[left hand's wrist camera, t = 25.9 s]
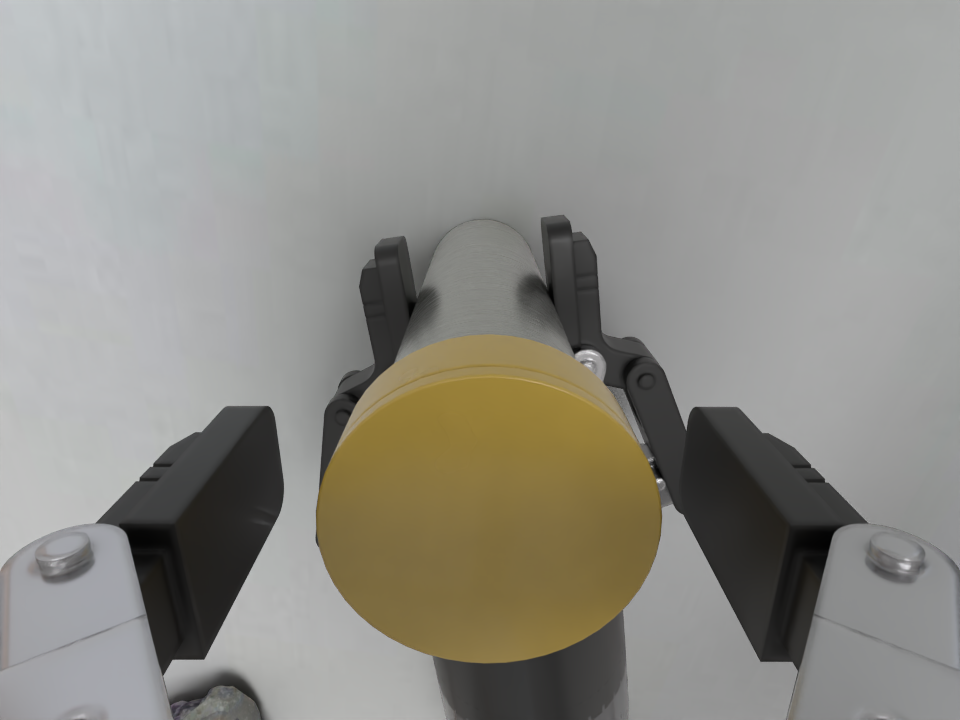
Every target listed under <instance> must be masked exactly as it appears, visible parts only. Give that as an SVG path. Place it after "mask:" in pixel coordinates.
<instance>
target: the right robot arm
mask: <svg viewBox="0 0 960 720" xmlns="http://www.w3.org/2000/svg"><path fill="white" fill-rule="evenodd" d="M541 231H542V241H543V252H544V262H545V272H546V283H547V290H548V293H549V295H550V298H551V300H552V302H553V305H554V307H555V310H556V312H557V314H558V317H559V319H560V322H561V324H562V327H563V329H564V331H565V334H566V336H567V339H568V341H569V343H570V346H571V348H572V351H573V353H574V355H575V358H576V360H577V361H578V362H580V363H581V364H583V365H584V366H586V367H587V368H588V369H589V370H590V371H592V372H593V373H594V374H595V375H596V376H597V377H598V378H599V379H601V381H602V382H603V383H604V384H605V385H607V386H612V387H617V388H622V389H624V392H625V394H626V397H627V399H628V402H629V404H630V407H631V409H632V412H633V414H634V417H635V419H636V422H637V424H638V427H639V429H640V432H641V434H642V437H643V439H644V442H645V444H640V446H641V448H642V450H643V451H644V453H645V455H646V457H647V459H648V462H649V464H650V466H651V469H652V471H653V473H654V476H655V478H656V482H657V486H658V490H659V494H660V499H661V508H662V507H665V506H668V505H670V504H674V506H675V508H676V510H677V511H678V512H680V513H681V514H683V511H682V508H681V503H680V494H679V483H680V475H681V468H682V461H683V454H684V446H685V439H686V429H685V426H684V424H683V421H682V418H681V416H680V413H679V410H678V407H677V405H676V402H675V399H674V397H673V394H672V391H671V388H670V386H669V383H668V380H667V378H666V375H665V372H664V370H663V369H662V368H661V366H660V365H659V364H658V362H657V361H656V360H655V358H654V357H653V356H652V354H651V353H650V352H649V350H648V349H647V348H646V347H645V345H644V344H643V343H642V341H640V340H639V339H637V338H635V337H625V338H622V339H620V338H615V337H610V336H607V335H605V334H603V333H602V332H601V319H600V303H599V290H598V276H597V274H598V272H597V257H596V254H595V252H594V250H593V248H592V246H591V244H590V242H589V240H588V239H587V238H586V237H585V236H584V235H583V234H582V232H576V233H572V229H571V224H570V221H569V220H568V219H567V218H566V217H565V216H564V215H558V216H551V217H544V218H541ZM359 288H360V293H361V298H362V302H363V305H364V312H365V316H366V321H367V326H368V331H369V335H370V340H371V345H372V349H373V354H374V359H375V364H374V365H372V366H370V367H368V368H366V369H364V370H362V371H357V370H356V371H351V372H349V373H347V374H346V375H345V376H344V377H343V378H342V380H341V382H340V384H339V386H338V390H337V392H336V394H335V396H334V397H333V398H332V399H331V401H330V402H329V404H328V406H327V408H326V410H325V414H324V427H323V441H322V456H321V470H320V484H319V490H320V487H321V483H322V480H323V477H324V474H325V471H326V469H327V467H328V465H329V463H330V460H331V458H332V456H333V453H334V451H335V449H336V447H337V445H338V442H339V440H340V438H341V436H342V433H343V431H344V429H345V427H346V424H347V422H348V420H349V418H350V416H351V414H352V412H353V410H354V408H355V406H356V404H357V403H358V401H359V400H360V398H361V397H362V395H363V394H364V392H365V391H366V390H367V389H368V387H369V386H370V385H371V384H372V383H373V382H374V381H375V380H376V379H377V378H378V377H379V376H380V375H381V374H382V373H383V372H384V371H386V370H387V369H388V368H389V367H391V366H392V365H393V364H394V362H395V360H396V357H397V354H398V351H399V348H400V346H401V343H402V340H403V337H404V335H405V332H406V329H407V326H408V324H409V321H410V318H411V315H412V313H413V310H414V307H415V304H416V302H417V297H416V291H415V286H414V280H413V275H412V269H411V264H410V258H409V252H408V247H407V243H406V239H405V237H404V236H401V237H393V238H386V239H382V240H381V241H380V242H379V243H378V244H377V245H376V246H375V259H372V260H370V261H369V262H368V263H367V264H366V266H365V267H364V268H363V269H362V274H361V280H360V285H359ZM316 543H317V545H318V547H319V543H318V537H317V531H316ZM433 659H434V664H435V668H436V673H437V678H438V682H439V687H440V692H441V696H442V701H443V706H444V710H445V715H446V719H447V720H628V711H629V698H628V682H627V665H626V650H625V635H624V619H623V610H622V611H621V612H620V613H619V614H618V615H617V616H616V617H615V618H614V619H612V620H611V621H610V622H608V623H607V624H606V625H605V626H603V627H602V628H601V629H600V630H598V631H596V632H595V633H593V634H592V635H590V636H588V637H587V638H585V639H583V640H582V641H579V642H577V643H575V644H573V645H571V646H569V647H567V648H565V649H562V650H559V651H556V652H553V653H550V654H548V655H544V656H540V657H536V658H532V659H528V660H522V661H514V662H507V663H471V662H461V661H455V660H449V659H444V658H440V657H436V656H433Z"/></svg>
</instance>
